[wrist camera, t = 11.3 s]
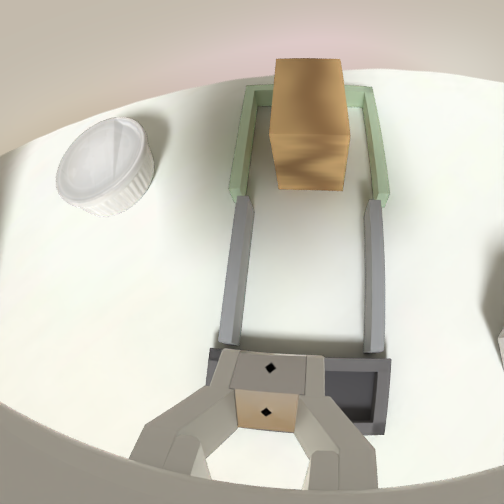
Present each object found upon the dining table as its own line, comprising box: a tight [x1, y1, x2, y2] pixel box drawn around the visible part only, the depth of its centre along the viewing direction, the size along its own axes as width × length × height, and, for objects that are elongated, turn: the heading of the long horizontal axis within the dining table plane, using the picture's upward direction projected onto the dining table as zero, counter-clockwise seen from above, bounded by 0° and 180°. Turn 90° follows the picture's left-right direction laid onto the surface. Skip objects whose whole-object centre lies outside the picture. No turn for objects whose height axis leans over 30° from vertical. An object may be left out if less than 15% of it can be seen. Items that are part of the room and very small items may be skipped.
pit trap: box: [206, 348, 391, 435], centre depth 23 cm, size 14×6×2 cm, turn 84°
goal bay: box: [229, 84, 390, 207], centre depth 30 cm, size 14×14×2 cm
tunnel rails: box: [218, 196, 385, 353], centre depth 25 cm, size 12×12×3 cm
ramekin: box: [56, 117, 154, 217], centre depth 32 cm, size 11×11×5 cm
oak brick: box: [269, 58, 350, 191], centre depth 28 cm, size 6×10×8 cm, turn 174°
